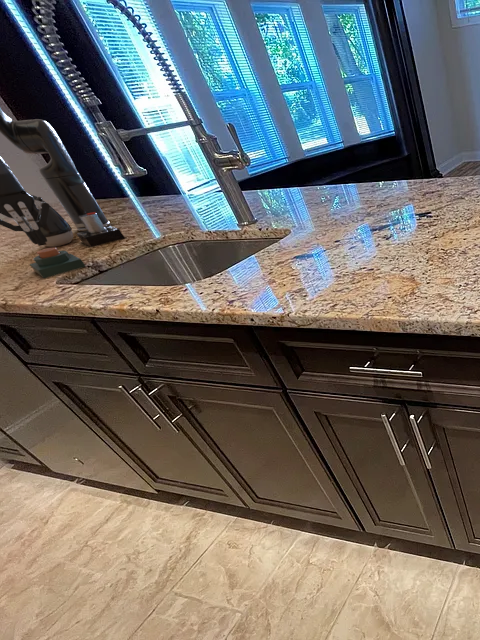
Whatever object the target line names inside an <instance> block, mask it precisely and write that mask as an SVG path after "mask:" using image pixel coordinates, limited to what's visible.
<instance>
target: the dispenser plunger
mask: <svg viewBox="0 0 480 640" xmlns="http://www.w3.org/2000/svg"><path fill="white" fill-rule="evenodd" d="M59 251H60V250H58V248H57V247H47V248H43V249H40V250H37V252H36V253H37V256H40V257H41V258H47V257H52V256H56V255H58V254H60V253H59Z"/></svg>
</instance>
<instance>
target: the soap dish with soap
mask: <svg viewBox="0 0 480 640" xmlns="http://www.w3.org/2000/svg"><path fill="white" fill-rule="evenodd" d="M58 251H59V253H60V254H58V255H56V256H52V257H47V258H41V257H40V256H39V255H36V256H34V257H33V258H32V259H33V261H34V262H33V263H32V262H31V263H29V266H30V267H31V268H32V270H33V271H34V272H35V273H36V274H37V275H39V276H40V277H42V278H43V279H46V278H50V277H53V276H57V275H58V276H59V275H61V274H64V273H67V272H71V271H74V270H75V271H76V270H78V269H82V268H86V264H85V263H84V262H83V259H81V258H80V257H77V256H76V255H74V254H72V253H69V252H68V251H67V250H58Z"/></svg>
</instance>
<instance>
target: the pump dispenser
mask: <svg viewBox="0 0 480 640" xmlns="http://www.w3.org/2000/svg"><path fill="white" fill-rule="evenodd" d="M29 195H30V196H32V197H33V198H34V200H37V201H41V202H46V201H45V200H44V199H43V198H42V197H41V196H36V195H34V194H29ZM38 213H39V209H37V208H36V205H35V204H34V207H33V213H32V214H31V215H32V217H33V219H34V221H35V222H36V221H37V218H38ZM21 219H22V220H23V221H24V223H25V224H26V225H27V226H28V227H29V228H30V226H29V225H28V223H27V221H26V220H25V219H24V217H23V216H21ZM30 230H32V229H31V228H30ZM40 230H41V232H42V233H43V235H44V236H45V237H46V239H47V242H45V243H46V245H43V246H44V247H47V248H57V247H60V246H65V245H68V244H70V243H71V242H72V240H73V239H74V232H73V228H72V227H71V225H70V224H69V223H68V221H67V220H66V219H65V218H64V217H63V216H62V215H61V214H60V213H59V212H58V211H57V210H56V209H55V208H54V207H52V205H50V207H49V211H48V216H47V220H46V225H44V226H42V227H41V228H40Z"/></svg>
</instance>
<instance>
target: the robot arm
mask: <svg viewBox="0 0 480 640" xmlns="http://www.w3.org/2000/svg"><path fill="white" fill-rule="evenodd" d="M0 134H1V135H2V136H3V137H4V138H5V139H6V140H7V141H9V142H10V143H11V144H12V145H13V146H14V147H15V148H17V149H18V150H19V151H21V152H23V153H25V154H27V155H43V154H48V155H49V157H50V160H49V161H48V163H47V164H45V165H43V166H41V167H40V168H39V169H38V172H39V174H40V176H41V177H42V178H43V179H44V182H46V184H47V186H48V188H50V190H51V191H52V193H53V194H54V196H55V197H56V199H57V200H58V202H59V203H60V205H61V206H62V208H63V210H64V211H65V212H66V214H67V215H68V217H69V219H70V220H71V221H72V223H73V225H74V226H75V227H76V229H77V231H78V232H84V231H88V230H87V229H86V227H85V226H84V224H83V223H82V221H81V220H80V218H79V216H81V215H84V214H88V213H93V212H95V213H96V214H97V216H98V217H99V219H100V221H101V222H102V224H103V225H104V227H105V226H112V225H111V223H110V221H109V219H108V217H106V215H105V213H104V211H103V210H102V208H101V207H100V204H98V202H97V200H96V199H95V197H94V196H93V194H92V192H91V191H90V188H89V187H88V186H87V184H86V182H85V181H84V179H83V178H82V176H81V174H80V173H79V171H78V170H77V168H76V166H75V163H74V161H73V159H72V158H71V156H70V154H69V152H68V151H67V148H66V146H65V145H64V144H63V141H62V139H61V138H60V136H59V135H58V133H57V131H56V130H55V129H54V128H53V126H52V125H51V124H50V123H49V122H47V121H46V120H44V119H39V118H35V119H23V120H14V119H12V118H11V117H9V116H8V115H7V114H6V113H5V112H4V111H3V110H2V107H1V106H0ZM30 195H31V194H29V193H28V192H27V191H26V190H25V188H24V187H23V186H22V184H21V182H20V181H19V179H18V178H17V177H16V176H15V174H14V172H13V171H12V170H11V167H10V166H9V165H8V164H7V163H6V161H5V160H4V159H3V157H2V156H1V155H0V214H1V215H2V216H5V217H7V218H10V219H12V220H13V221H14V222H15V223H16V224H17V225H14V224H12V223H10V222H8V221H5V220H3V219H2V218H0V226H2V227H4V228H6V229H9V230H12V231H13V232H23V233H24V234H25V235H26V236H27V237H28V239H29V240H30V241H31V243H32V244H34V245H38V246H39V247H41V246H44V245H46V243H45V242H47V239H46V237H45V236H44V235H43V233H42V232H41V230H40V228H41V227H42V226H44V225H46V220H47V216H48V211H49V207H50V206H51V205H50V203H48V202H46V201H45V202H41V201H37V200H34V198H33V197H32V196H30ZM34 204H35V205H36V208H37V209H39V213H38V218H37V221H36V222H35V221H34V219H33V217H32V215H31V214H32V213H33V207H34ZM21 216H23V217H24V219H25V220H26V221H27V223H28V225H29V226H30V228H31V229H32V230H30V228H29V227H28V226H27V225H26V224H25V223H24V221H23V220H22V219H21Z"/></svg>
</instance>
